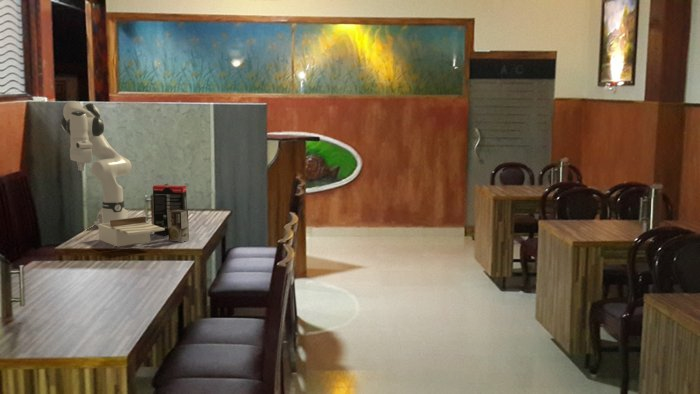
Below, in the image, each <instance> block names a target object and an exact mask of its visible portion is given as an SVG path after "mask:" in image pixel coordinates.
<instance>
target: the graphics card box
mask: <svg viewBox="0 0 700 394" xmlns="http://www.w3.org/2000/svg"><path fill="white" fill-rule="evenodd" d="M187 201H188V200H187V185H170V184H169V185H167V184H166V185H165V184H160V185H159V184H156V185H152V202H153V225H156V226H159V227H162V228H165V230H163V231H156V232H153V234H154V235H156V236H168V218H167V211H170V210H174V209H176V210H188V209H187V208H188V207H187V206H188V205H187V203H188V202H187Z"/></svg>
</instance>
